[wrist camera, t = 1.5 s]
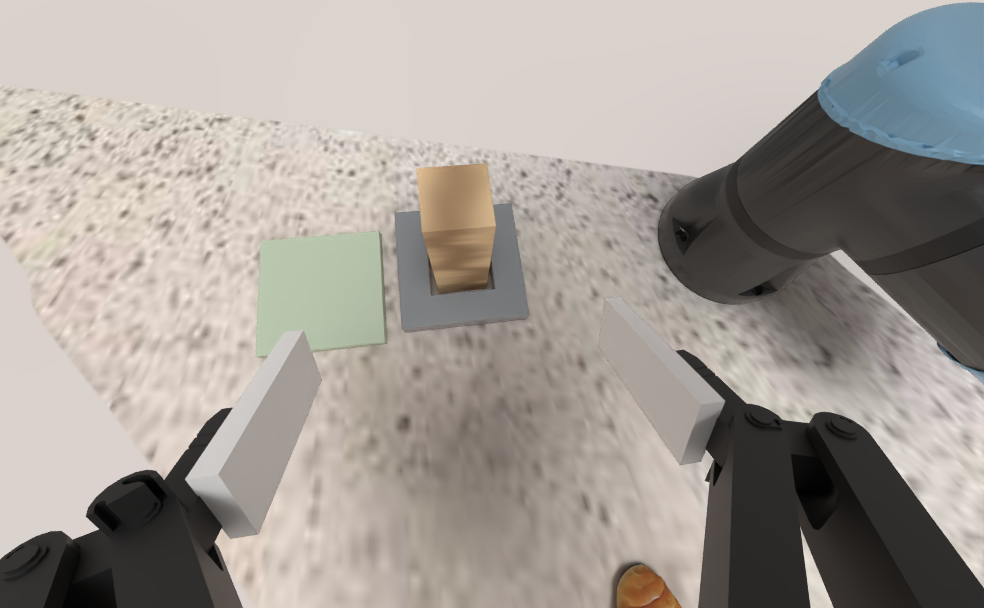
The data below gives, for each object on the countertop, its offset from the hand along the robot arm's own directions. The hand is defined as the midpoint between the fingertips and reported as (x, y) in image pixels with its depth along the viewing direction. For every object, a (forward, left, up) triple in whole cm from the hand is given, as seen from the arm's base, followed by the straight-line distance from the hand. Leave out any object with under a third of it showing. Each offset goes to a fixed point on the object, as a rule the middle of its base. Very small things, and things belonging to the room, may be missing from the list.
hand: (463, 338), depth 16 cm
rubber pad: (+17, +3, -20) cm, 26 cm away
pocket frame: (+8, -8, -20) cm, 23 cm away
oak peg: (+8, -8, -20) cm, 23 cm away
